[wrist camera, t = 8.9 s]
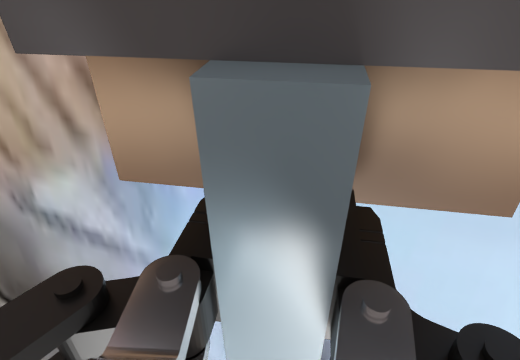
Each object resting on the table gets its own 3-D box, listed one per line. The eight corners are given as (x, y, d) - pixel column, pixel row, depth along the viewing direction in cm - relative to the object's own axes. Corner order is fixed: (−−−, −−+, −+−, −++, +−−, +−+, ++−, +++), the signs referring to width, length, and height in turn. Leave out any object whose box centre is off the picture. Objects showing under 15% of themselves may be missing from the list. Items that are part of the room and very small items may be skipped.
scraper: (112, -42, 8) (-92, -48, 4) (539, -49, 7) (848, -67, 3) (189, 313, 17) (146, 424, 13) (387, 345, 16) (408, 481, 11)
